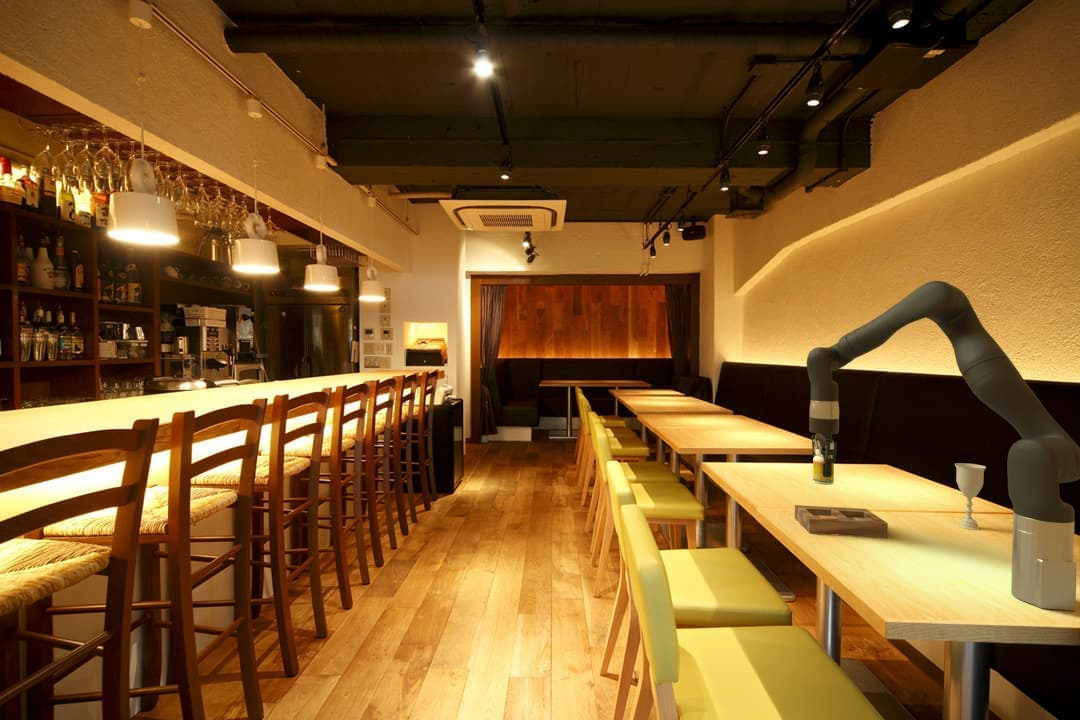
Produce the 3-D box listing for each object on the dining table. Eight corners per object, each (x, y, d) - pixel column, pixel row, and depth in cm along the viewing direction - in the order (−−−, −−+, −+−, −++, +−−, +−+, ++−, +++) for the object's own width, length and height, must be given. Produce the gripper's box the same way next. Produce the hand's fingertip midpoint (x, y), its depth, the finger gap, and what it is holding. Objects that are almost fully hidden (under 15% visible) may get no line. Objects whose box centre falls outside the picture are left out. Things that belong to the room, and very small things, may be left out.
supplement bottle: (819, 479, 161) (819, 447, 161) (837, 483, 157) (838, 450, 156) (809, 482, 158) (809, 449, 158) (827, 486, 154) (827, 452, 154)
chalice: (955, 528, 157) (956, 466, 157) (950, 521, 163) (952, 462, 163) (987, 532, 154) (989, 469, 153) (981, 525, 160) (982, 464, 159)
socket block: (887, 537, 148) (887, 522, 148) (809, 533, 152) (809, 517, 152) (865, 522, 162) (866, 507, 162) (794, 518, 166) (794, 504, 165)
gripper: (847, 419, 149) (846, 480, 150) (829, 413, 164) (828, 469, 164) (818, 418, 151) (817, 479, 151) (802, 413, 165) (801, 468, 165)
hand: (823, 474), depth 157 cm, fingers closed on supplement bottle, 5 cm apart
